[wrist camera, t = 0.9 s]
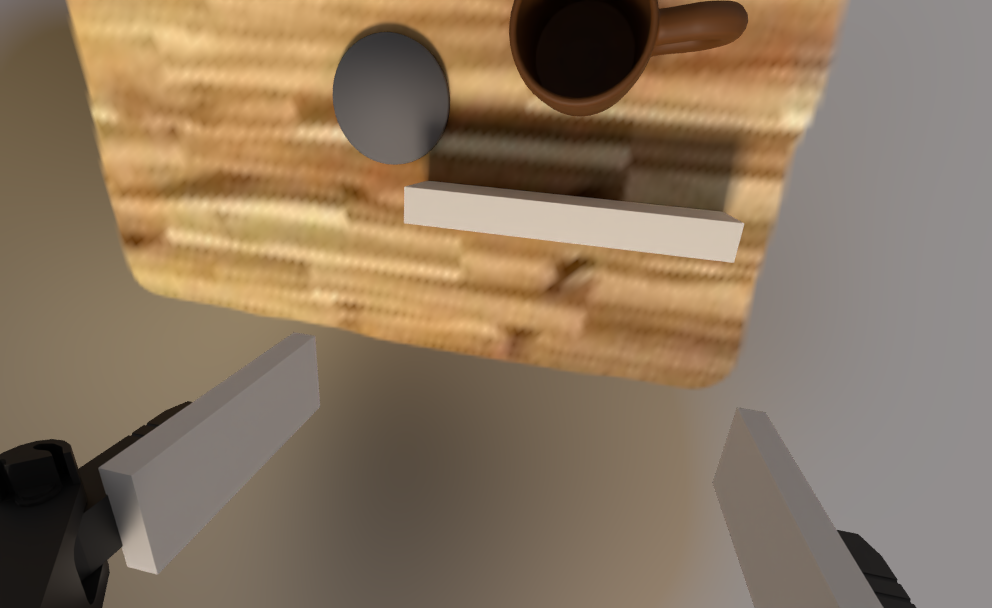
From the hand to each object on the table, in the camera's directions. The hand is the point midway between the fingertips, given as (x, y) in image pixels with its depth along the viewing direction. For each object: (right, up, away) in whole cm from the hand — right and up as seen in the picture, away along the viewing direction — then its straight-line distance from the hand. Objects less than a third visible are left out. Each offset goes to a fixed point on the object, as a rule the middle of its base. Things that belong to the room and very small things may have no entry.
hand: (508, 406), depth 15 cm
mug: (+8, +20, +17) cm, 27 cm away
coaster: (-8, +18, +20) cm, 29 cm away
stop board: (+5, +10, +21) cm, 24 cm away
